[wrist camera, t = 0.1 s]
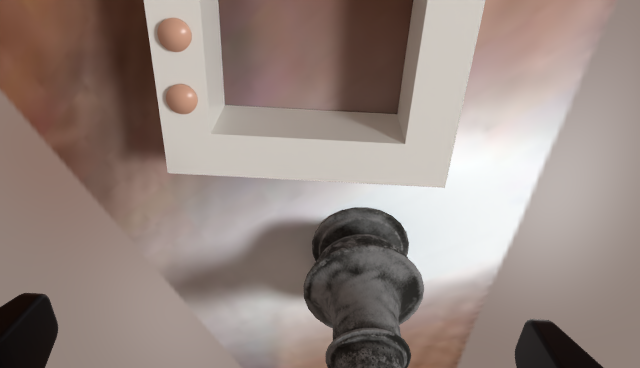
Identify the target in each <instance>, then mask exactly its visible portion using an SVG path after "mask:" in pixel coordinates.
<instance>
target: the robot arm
mask: <svg viewBox="0 0 640 368" xmlns="http://www.w3.org/2000/svg"><path fill="white" fill-rule="evenodd" d="M57 333H58V324H57V320H56V317H55V314H54V311H53V308H52V305H51V302H50V300H49V298H48V297H47V296H46V295H45V294H36V293H24V294H21V295H19V296H17V297H15V298H14V299H12V300H11V301H9V302H8V303H6V304H5V305H3V306H1V307H0V368H45V366H46V364H47V361H48V358H49V356H50V353H51V350H52V348H53V345H54V343H55V340H56V337H57ZM515 361H516V366H517V368H603V367H602V366H601V365H600V364H599V363H598V362H596V361H595V360H594V359H593V358H592V357H591V356H590V355H589V354H588V353H587V352H585V351H584V350H583V349H582V348H581V347H580V346H579V345H578V344H577V343H575V342H574V341H573V340H572V339H571V338H570V337H569V336H568V335H566V334H565V333H564V332H563V331H562V330H561V329H560V328H559V327H558V326H557V325H555V324H554V323H553V322H551V321H549V320H535V319H530V320H528V321H527V322H526V323H525V325H524V327H523V330H522V333H521V335H520V338H519V340H518V343H517V346H516V349H515Z"/></svg>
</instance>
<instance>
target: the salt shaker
mask: <svg viewBox="0 0 640 368" xmlns="http://www.w3.org/2000/svg"><path fill="white" fill-rule="evenodd" d="M312 245H313V255H314V258H315V260H316V263H315V264H314V266H313V267H312V269H311V270H310V271H309V273H308V274H307V277H306V280H305V283H304V299H305V301H306V304H307V306H308V309H309V310H310V311H311V312H312V314H313V315H314V316H315V317H316V318H317V319H318V320H320V321H321V322H323V323H324V324H325V325H327V326H329V327H331V328H333V342H332V343H331V344H330V345H329V346H328V349H327V351H326V364H327V367H328V368H407V367H408V365H409V363H410V359H411V353H410V349H409V346H408V344H407V343H406V342H405V340H404V339H402V338H401V334H400V327H399V325H400V324H402V323H403V322H405V321H406V320H408V319H409V318H410V317H411V316H412V315H413V314H414V313H415V312H416V310H417V309H418V307H419V305H420V303H421V301H422V299H423V292H424V285H423V281H422V277H421V274H420V272H419V271H418V269H417V268H416V266H415V265H414V264H413V263H412V262H411V261H410V260H409V259H408V258H407V254H408V246H409V242H408V238H407V234H406V231H405V230H404V228H403V227H402V225H401V223H399V222H398V221H397V220H396V219H395V218H394V217H393V216H391V215H389V214H387V213H385V212H383V211H381V210H376V209H372V208H351V209H347V210H342V211H340V212H338V213H336V214H334V215H331V216H330V217H329V218H327V219H326V220H325V221H324V222H323V223H322V224H321V225H320V226H319V228H318V229H317V231H316V232H315V235H314V239H313V242H312Z"/></svg>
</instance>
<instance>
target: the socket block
mask: <svg viewBox="0 0 640 368" xmlns="http://www.w3.org/2000/svg"><path fill="white" fill-rule="evenodd" d="M484 4H485V0H413V6H412V13H411V20H410V28H409V35H408V42H407V49H406V56H405V63H404V70H403V77H402V84H401V91H400V98H399V105H398V112H397V114H384V113H365V112H346V111H327V110H308V109H290V108H271V107H252V106H233V105H225V101H224V85H223V69H222V53H221V37H220V21H219V5H218V0H144V6H145V13H146V20H147V27H148V34H149V42H150V49H151V56H152V63H153V70H154V77H155V84H156V91H157V99H158V106H159V113H160V120H161V127H162V134H163V141H164V148H165V156H166V163H167V170H168V173H177V174H196V175H215V176H234V177H253V178H272V179H291V180H310V181H329V182H348V183H367V184H385V185H404V186H423V187H442V188H445V185H446V180H447V175H448V171H449V166H450V161H451V157H452V152H453V148H454V143H455V138H456V134H457V129H458V124H459V120H460V115H461V111H462V106H463V101H464V97H465V92H466V88H467V83H468V78H469V74H470V69H471V64H472V60H473V55H474V51H475V46H476V41H477V37H478V32H479V28H480V23H481V18H482V14H483V9H484Z"/></svg>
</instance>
